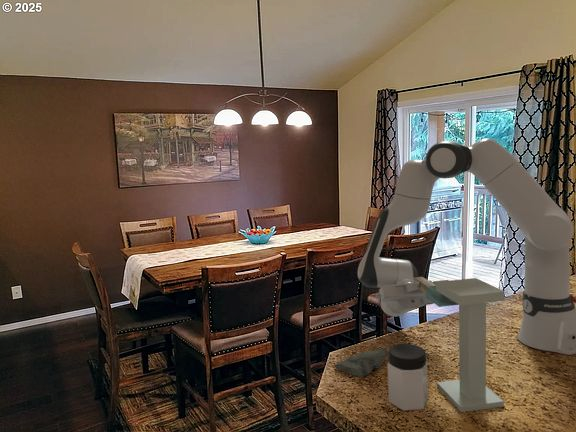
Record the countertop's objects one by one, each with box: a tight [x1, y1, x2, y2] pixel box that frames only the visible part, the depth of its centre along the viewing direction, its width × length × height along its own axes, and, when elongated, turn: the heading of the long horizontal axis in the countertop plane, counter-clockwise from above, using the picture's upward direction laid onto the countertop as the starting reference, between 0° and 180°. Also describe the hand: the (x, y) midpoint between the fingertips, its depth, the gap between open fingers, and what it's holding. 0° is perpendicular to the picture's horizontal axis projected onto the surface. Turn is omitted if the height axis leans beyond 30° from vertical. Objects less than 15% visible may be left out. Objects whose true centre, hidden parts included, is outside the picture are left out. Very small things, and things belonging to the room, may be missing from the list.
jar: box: [387, 343, 429, 411], centre depth 102 cm, size 9×8×12 cm
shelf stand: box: [436, 277, 506, 413], centre depth 101 cm, size 10×11×26 cm
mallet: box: [414, 276, 459, 308], centre depth 117 cm, size 5×18×3 cm, turn 8°
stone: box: [334, 347, 389, 378], centre depth 122 cm, size 17×3×10 cm
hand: (424, 284), depth 122 cm, fingers closed on mallet, 2 cm apart
